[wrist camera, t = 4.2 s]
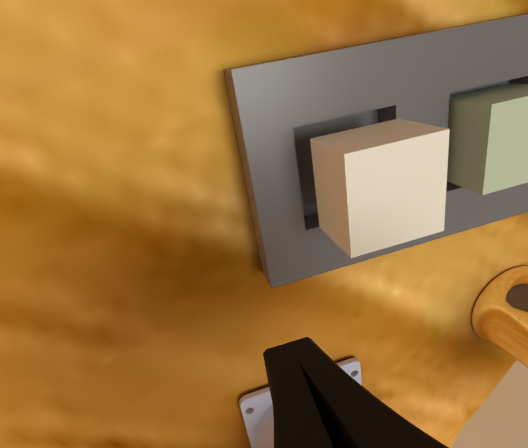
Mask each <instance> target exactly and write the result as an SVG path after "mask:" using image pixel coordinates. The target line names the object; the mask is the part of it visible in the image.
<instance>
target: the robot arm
mask: <svg viewBox="0 0 528 448" xmlns="http://www.w3.org/2000/svg"><path fill="white" fill-rule="evenodd" d="M263 356H264V361H265V367H266V372H267V377H268V383H269V387H267V388H264V389H261V390H258V391H255V392H252V393H249V394H246V395H244V396H243V397H241V398H240V400H239V405H240V408H241V412H242V416H243V419H244V423H245V427H246V430H247V434H248V437H249V441H250V445H251V448H448V447H447V446H445V445H443V444H442V443H440V442H439V441H437V440H435V439H434V438H432V437H431V436H429V435H428V434H426V433H425V432H423V431H422V430H420V429H419V428H417V427H416V426H414V425H413V424H411V423H410V422H409V421H407V420H406V419H404V418H403V417H402V416H400V415H399V414H397V413H396V412H395V411H393V410H392V409H391V408H389V407H388V406H387V405H385V404H384V403H383V402H381V401H380V400H379V399H378V398H376V397H375V396H374V395H372V394H371V393H370V392H369V391H368V390H366V389H365V388H364V387H363V386H362V379H361V365H360V362H359V361H358V360H357V359H356V358H350V359H347V360H344V361H342V362H339V363H335V362H334V361H333V360H332V359H331V358H330V357H329V356H328V355H327V354H326V353H324V352H323V351H322V350H321V349H320V348H319V347H318V346H317V345H316V344H315V343H314V342H313V340H312V339H310V338H308V337H305V338H302V339H299V340H296V341H292V342H289V343H286V344H283V345H279V346H276V347H273V348H270V349H266V351H265V352H264V353H263Z"/></svg>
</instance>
